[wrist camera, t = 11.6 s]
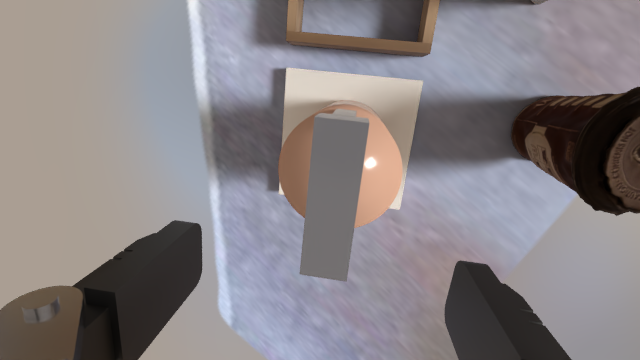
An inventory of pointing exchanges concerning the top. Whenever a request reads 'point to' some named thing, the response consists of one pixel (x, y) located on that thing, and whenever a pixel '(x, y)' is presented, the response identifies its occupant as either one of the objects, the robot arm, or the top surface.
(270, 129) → the top surface
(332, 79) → the off-white board
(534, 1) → the coffee box
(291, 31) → the tray
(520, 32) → the top surface
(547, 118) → the coffee cup
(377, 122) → the pink canister with handle
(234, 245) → the top surface
